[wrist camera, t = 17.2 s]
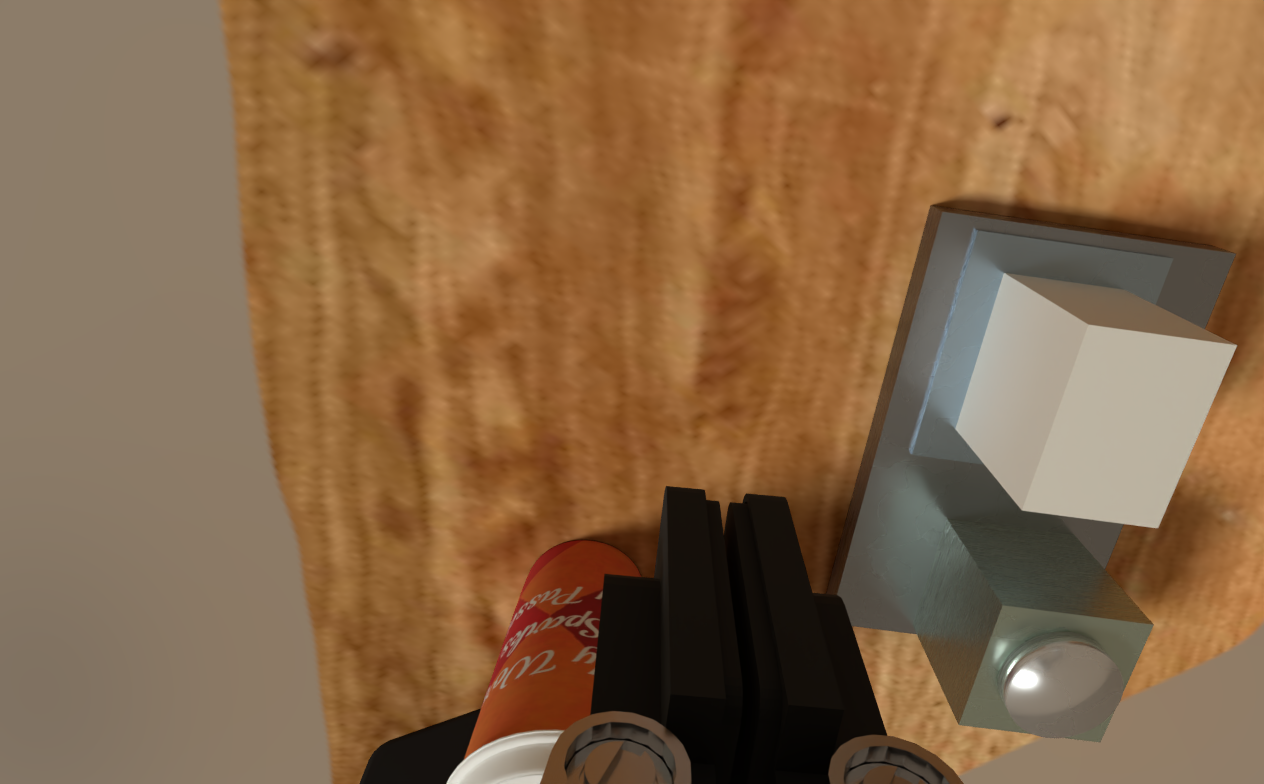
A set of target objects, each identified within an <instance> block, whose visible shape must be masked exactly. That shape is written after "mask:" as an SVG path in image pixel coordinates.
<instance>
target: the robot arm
mask: <svg viewBox="0 0 1264 784" xmlns="http://www.w3.org/2000/svg"><path fill="white" fill-rule="evenodd" d="M540 784H964V783H963V782H962V781H961V779H960V778H959V777H958V775H957V774H956V773H955V771H954V770H953V769H952V768H950V767H949V766H948V765H947V764H946V763H945V762H943V761H942V760H941V759H940V758H939V757H938V756H936V755H935V754H933V753H931V752H930V751H928V750H926V749H924V748H922V747H921V746H919V745H917V744H915V743H912V742H909V741H906V740H903V739H900V738H897V737H894V736H887V733H886V730H885V727H884V724H883V721H882V718H881V715H880V711H879V708H878V705H877V702H876V699H875V696H874V693H873V690H872V687H871V684H870V681H869V678H868V674H867V671H866V668H865V665H864V662H863V659H862V656H861V653H860V650H859V647H858V644H857V641H856V637H855V634H854V631H853V628H852V625H851V622H850V619H849V616H848V613H847V610H846V607H845V604H844V602H843V600H842V598H841V597H840V596H838V595H831V594H820V593H812V590H811V586H810V583H809V579H808V575H807V572H806V568H805V564H804V561H803V557H802V553H801V550H800V546H799V543H798V539H797V535H796V532H795V528H794V524H793V521H792V517H791V513H790V510H789V506H788V502H787V500H786V498H785V497H777V496H767V495H756V494H746V495H745V496H744V499H743V503H732V502H730V504H729V507H728V512H727V519H726V525H725V531H724V535H723V527H722V519H721V511H720V504H719V501H710V500H706V495H705V490H702V489H691V488H680V487H670V486H666V488H665V493H664V500H663V509H662V517H661V525H660V533H659V542H658V550H657V558H656V566H655V575H654V578H646V577H635V576H624V575H613V574H604V583H603V592H602V602H601V612H600V622H599V632H598V642H597V652H596V662H595V672H594V682H593V692H592V702H591V712H590V716H587V717H585V718H583V719H581V720H578V721H576V722H574V723H573V724H572V725H571V726H570V727H568V728H567V729H566V730H565V731H564V732H563V733H561V734H560V736H559V738H558V740H557V741H556V743H555V745H554V747H553V748H552V750H551V753H550V756H549V759H548V762H547V765H546V768H545V770H544V773H543V776H542V779H541V782H540Z"/></svg>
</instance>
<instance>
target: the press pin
mask: <svg viewBox="0 0 1264 784" xmlns="http://www.w3.org/2000/svg"><path fill="white" fill-rule="evenodd" d="M997 687H998V692H999V695H1000V697H1001V699H1002V701H1003V703H1004V704H1005V706H1006V708H1007V710H1008V712H1009V714H1010V715H1011V717H1012V719H1013V720H1014V721H1015V723H1016V724H1017V725H1018V726H1020V727H1021V728H1022V729H1024V730H1025V731H1027V732H1029V733H1031V734H1034V735H1037V736H1041V737H1046V738H1064V737H1071V736H1075V735H1078V734H1082V733H1084V732H1087V731H1089V730H1091V729H1093V728H1095V727H1096V726H1098V725H1099V724H1101V723H1102V722H1104V721H1105V720H1106V719H1107V718H1108V717H1109V716H1110V715H1111V714H1112V713H1113V712H1114V710H1115V709H1116V707H1117V706H1118V704H1119V702H1120V700H1121V697H1122V694H1123V678H1122V675H1121V672H1120V670H1119V668H1118V667H1117V666H1116V664H1115V663H1114V662H1113V660H1112V659H1111V658H1110V656H1109V655H1108V654H1107V652H1106V651H1105V650H1104V649H1103V647H1102V646H1101V645H1100V644H1099V643H1098V642H1096V641H1095V640H1093V639H1092V638H1090V637H1088V636H1085V635H1082V634H1079V633H1074V632H1052V633H1047V634H1043V635H1040V636H1037V637H1034V638H1032V639H1030V640H1028V641H1026V642H1024V643H1023V644H1021V645H1020V646H1018V647H1017V648H1016V649H1015V650H1013V651H1012V652H1011V653H1010V654H1009V656H1008V657H1007V658H1006V659H1005V661H1004V662H1003V664H1002V666H1001V668H1000V671H999V674H998V679H997Z"/></svg>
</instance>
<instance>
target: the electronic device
mask: <svg viewBox="0 0 1264 784" xmlns="http://www.w3.org/2000/svg"><path fill="white" fill-rule="evenodd" d="M480 711H481V709H479V710H476V711H473V712H470V713H467V714H464V715H462V716H459V717H456V718H453V719H450V720H447V721H445V722H442V723H439V724H436V725H433V726H430V727H427V728H425V729H422V730H419V731H416V732H413V733H410V734H407V735H405V736H402V737H399V738H396V739H393V740H390V741H388V742H386V743H384V744H383V745H381V746H380V747H379V748H378V749H377V750H375V751H374V753H373V754H372V756H371V757H370V759H369V761H368V764H367V766H366V769H365V771H364V774H363V776H362V779H361V781H360V784H446V783H447V781H448V779H449V777H450V776H451V774H452V773H453V772H454V770H455V769H456V768H457V766H458V765H459V764H460V763H461V762H462V761H463V760H464V758H465V755H466V752H467V749H468V746H469V743H470V740H471V737H472V734H473V731H474V728H475V725H476V722H477V719H478V717H479V714H480Z"/></svg>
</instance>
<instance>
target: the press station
mask: <svg viewBox="0 0 1264 784" xmlns="http://www.w3.org/2000/svg"><path fill="white" fill-rule="evenodd" d="M1235 255H1236V254H1235V253H1232V252H1229V251H1226V250H1223V249H1220V248H1218V247H1215V246H1210V245H1203V244H1196V243H1189V242H1182V241H1175V240H1168V239H1161V238H1154V237H1148V236H1141V235H1134V234H1127V233H1120V232H1113V231H1106V230H1099V229H1092V228H1085V227H1078V226H1071V225H1064V224H1057V223H1050V222H1043V221H1036V220H1029V219H1022V218H1015V217H1008V216H1001V215H994V214H987V213H980V212H973V211H966V210H959V209H952V208H945V207H938V206H930V210H929V214H928V217H927V221H926V225H925V228H924V232H923V236H922V240H921V243H920V247H919V251H918V254H917V258H916V262H915V266H914V269H913V273H912V277H911V280H910V284H909V288H908V292H907V295H906V299H905V303H904V306H903V310H902V314H901V318H900V321H899V325H898V329H897V332H896V336H895V340H894V344H893V347H892V351H891V355H890V358H889V362H888V366H887V370H886V373H885V377H884V381H883V384H882V388H881V392H880V396H879V399H878V403H877V407H876V410H875V414H874V418H873V422H872V425H871V429H870V433H869V436H868V440H867V444H866V448H865V451H864V455H863V459H862V462H861V466H860V470H859V474H858V477H857V481H856V485H855V488H854V492H853V496H852V500H851V503H850V507H849V511H848V514H847V518H846V522H845V526H844V529H843V533H842V537H841V540H840V544H839V548H838V552H837V555H836V559H835V563H834V566H833V570H832V574H831V578H830V581H829V585H828V589H827V592H826V594H831V595H838V596H840V597H841V598H842V600H843V602H844V604H845V607H846V610H847V613H848V616H849V619H850V622H851V625H852V626H856V627H864V628H872V629H880V630H888V631H896V632H904V633H912V634H917V635H918V638H919V640H920V642H921V644H922V646H923V648H924V651H925V653H926V655H927V657H928V659H929V661H930V664H931V666H932V668H933V670H934V672H935V675H936V677H937V679H938V681H939V683H940V685H941V688H942V690H943V692H944V694H945V696H946V698H947V701H948V703H949V705H950V707H951V709H952V711H953V714H954V716H955V718H956V720H957V722H958V724H959V725H963V726H972V727H980V728H988V729H996V730H1004V731H1012V732H1020V733H1028V734H1031V733H1029V732H1027V731H1025V730H1024V729H1022V728H1021V727H1020V726H1018V725H1017V724H1016V723H1015V721H1014V720H1013V719H1012V717H1011V715H1010V714H1009V712H1008V710H1007V708H1006V706H1005V704H1004V703H1003V701H1002V699H1001V697H1000V695H999V692H998V687H997V679H998V674H999V671H1000V668H1001V666H1002V664H1003V662H1004V661H1005V659H1006V658H1007V657H1008V656H1009V654H1010V653H1011V652H1012V651H1013V650H1015V649H1016V648H1017V647H1018V646H1020V645H1021V644H1023V643H1024V642H1026V641H1028V640H1030V639H1032V638H1034V637H1037V636H1040V635H1043V634H1047V633H1052V632H1074V633H1079V634H1082V635H1085V636H1088V637H1090V638H1092V639H1093V640H1095V641H1096V642H1098V643H1099V644H1100V645H1101V646H1102V647H1103V649H1104V650H1105V651H1106V652H1107V654H1108V655H1109V656H1110V658H1111V659H1112V660H1113V662H1114V663H1115V664H1116V666H1117V667H1118V668H1119V670H1120V672H1121V675H1122V678H1123V691H1124V689H1125V687H1126V685H1127V683H1128V680H1129V678H1130V676H1131V674H1132V672H1133V669H1134V667H1135V665H1136V663H1137V661H1138V658H1139V656H1140V654H1141V652H1142V650H1143V647H1144V645H1145V643H1146V641H1147V639H1148V636H1149V634H1150V632H1151V630H1152V628H1153V625H1154V624H1153V623H1152V622H1151V621H1150V620H1149V619H1148V618H1147V616H1146V615H1145V614H1144V613H1143V612H1142V611H1141V610H1140V609H1139V607H1138V606H1137V605H1136V604H1135V603H1134V602H1133V601H1132V600H1131V598H1130V597H1129V596H1128V595H1127V594H1126V593H1125V592H1124V590H1123V589H1122V588H1121V587H1120V586H1119V585H1118V584H1117V583H1116V581H1115V580H1114V579H1113V578H1112V577H1111V576H1110V575H1109V574H1108V572H1107V571H1106V570H1105V568H1106V566H1107V563H1108V561H1109V558H1110V556H1111V554H1112V551H1113V549H1114V546H1115V544H1116V542H1117V539H1118V537H1119V534H1120V532H1121V529H1122V527H1123V525H1124V524H1121V523H1113V522H1105V521H1098V520H1090V519H1083V518H1075V517H1067V516H1060V515H1052V514H1045V513H1037V512H1029V511H1022V510H1021V509H1020V508H1019V506H1018V505H1017V504H1016V503H1015V501H1014V500H1013V499H1012V498H1011V497H1010V495H1009V494H1008V493H1007V492H1006V490H1005V489H1004V488H1003V487H1002V486H1001V484H1000V483H999V482H998V481H997V479H996V478H995V477H994V476H993V474H992V473H991V472H990V471H989V470H988V468H987V467H986V466H985V465H984V463H983V462H982V461H981V460H980V459H979V457H978V456H977V455H976V454H975V452H974V451H973V450H972V449H971V448H970V446H969V445H968V444H967V443H966V441H965V440H964V439H963V438H962V437H961V435H960V434H959V433H958V432H957V430H956V425H957V422H958V419H959V416H960V412H961V409H962V406H963V403H964V400H965V396H966V393H967V390H968V387H969V383H970V380H971V377H972V374H973V371H974V367H975V364H976V361H977V358H978V355H979V351H980V348H981V345H982V342H983V338H984V335H985V332H986V329H987V326H988V322H989V319H990V316H991V313H992V310H993V306H994V303H995V300H996V297H997V293H998V290H999V287H1000V284H1001V281H1002V277H1003V274H1004V273H1009V274H1017V275H1024V276H1031V277H1038V278H1045V279H1052V280H1059V281H1066V282H1073V283H1081V284H1088V285H1095V286H1102V287H1109V288H1116V289H1123V290H1126V291H1128V292H1130V293H1132V294H1134V295H1136V296H1138V297H1140V298H1142V299H1144V300H1146V301H1148V302H1150V303H1152V304H1154V305H1157V306H1159V307H1161V308H1163V309H1165V310H1167V311H1169V312H1171V313H1173V314H1175V315H1177V316H1179V317H1181V318H1183V319H1185V320H1187V321H1189V322H1191V323H1193V324H1195V325H1197V326H1199V327H1201V328H1203V329H1205V327H1206V325H1207V322H1208V320H1209V318H1210V315H1211V313H1212V310H1213V308H1214V306H1215V303H1216V301H1217V298H1218V296H1219V294H1220V291H1221V289H1222V286H1223V284H1224V281H1225V279H1226V277H1227V274H1228V272H1229V269H1230V267H1231V265H1232V262H1233V260H1234V257H1235ZM1114 711H1115V710H1114ZM1113 713H1114V712H1113ZM1113 713H1112V714H1111V715H1110V716H1109V717H1108V718H1107V719H1106V720H1105V721H1104V722H1102V723H1101V724H1099V725H1098V726H1096V727H1095V728H1093V729H1091V730H1089V731H1087V732H1084V733H1082V734H1078V735H1075V736H1071V737H1064V738H1069V739H1077V740H1085V741H1094V742H1101V740H1102V737H1103V735H1104V733H1105V731H1106V729H1107V726H1108V724H1109V722H1110V720H1111V718H1112V715H1113Z"/></svg>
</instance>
